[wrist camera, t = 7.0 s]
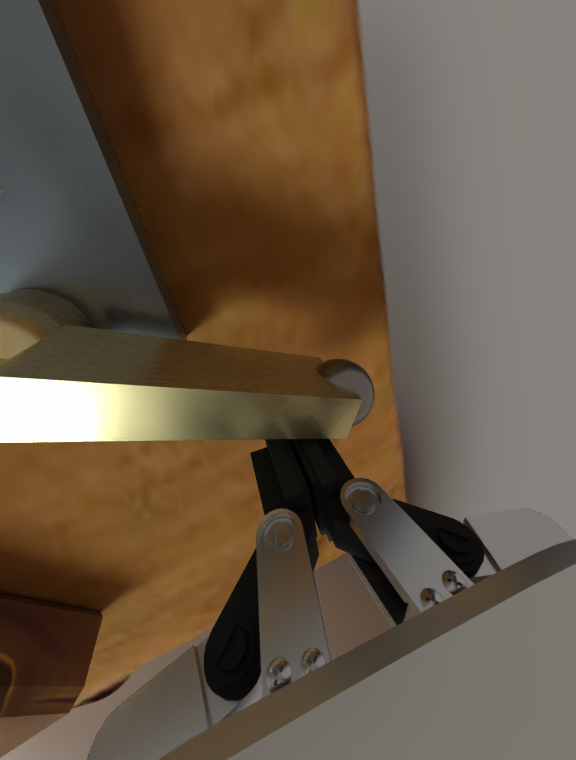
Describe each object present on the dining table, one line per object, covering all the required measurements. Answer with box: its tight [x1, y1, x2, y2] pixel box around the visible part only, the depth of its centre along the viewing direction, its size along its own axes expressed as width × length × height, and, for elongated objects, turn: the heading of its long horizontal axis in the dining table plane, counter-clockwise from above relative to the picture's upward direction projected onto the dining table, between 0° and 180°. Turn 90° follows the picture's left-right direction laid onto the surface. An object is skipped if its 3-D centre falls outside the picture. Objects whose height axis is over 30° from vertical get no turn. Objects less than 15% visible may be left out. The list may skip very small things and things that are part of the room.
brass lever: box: [0, 289, 374, 442], centre depth 8 cm, size 13×3×5 cm, turn 76°
